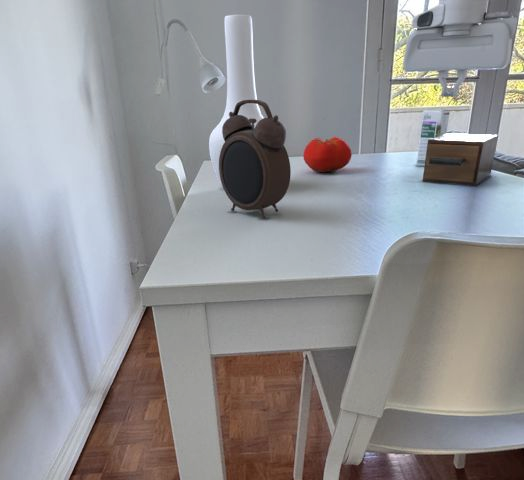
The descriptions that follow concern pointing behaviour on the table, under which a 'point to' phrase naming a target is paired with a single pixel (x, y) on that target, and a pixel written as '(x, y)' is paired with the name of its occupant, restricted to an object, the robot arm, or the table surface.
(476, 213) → the table surface
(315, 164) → the tomato
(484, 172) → the cabinet
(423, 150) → the syrup box
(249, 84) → the vase
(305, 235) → the table surface
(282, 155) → the alarm clock
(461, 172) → the drawer
